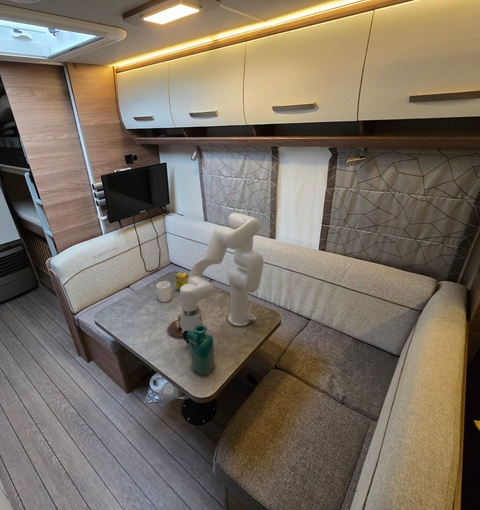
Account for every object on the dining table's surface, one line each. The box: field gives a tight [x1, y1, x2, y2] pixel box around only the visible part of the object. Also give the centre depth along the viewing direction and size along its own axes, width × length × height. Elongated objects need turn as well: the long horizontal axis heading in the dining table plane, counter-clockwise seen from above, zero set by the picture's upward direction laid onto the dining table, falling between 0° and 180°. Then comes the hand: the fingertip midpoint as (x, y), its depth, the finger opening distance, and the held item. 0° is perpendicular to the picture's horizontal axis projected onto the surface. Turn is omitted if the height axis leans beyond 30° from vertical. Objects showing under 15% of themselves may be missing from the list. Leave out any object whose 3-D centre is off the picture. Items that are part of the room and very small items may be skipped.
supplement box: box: [175, 271, 189, 291], centre depth 185 cm, size 6×6×11 cm
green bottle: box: [187, 324, 216, 377], centre depth 120 cm, size 10×8×22 cm
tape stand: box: [167, 314, 183, 339], centre depth 148 cm, size 14×14×8 cm
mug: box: [155, 281, 172, 303], centre depth 176 cm, size 12×8×10 cm
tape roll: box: [184, 331, 191, 346], centre depth 135 cm, size 7×7×4 cm
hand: (192, 339), depth 136 cm, fingers closed on tape roll, 7 cm apart
